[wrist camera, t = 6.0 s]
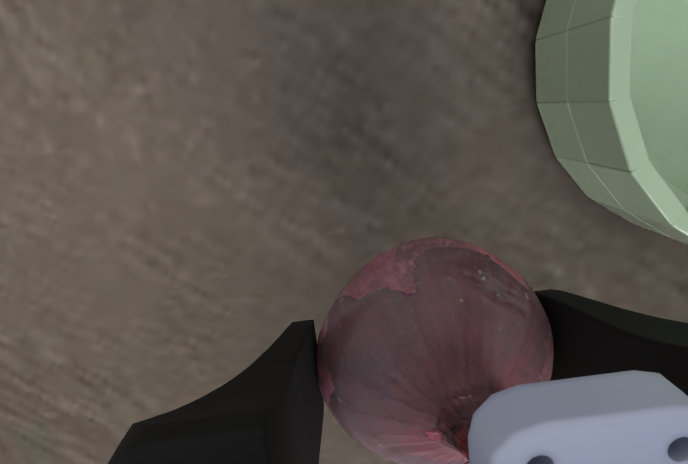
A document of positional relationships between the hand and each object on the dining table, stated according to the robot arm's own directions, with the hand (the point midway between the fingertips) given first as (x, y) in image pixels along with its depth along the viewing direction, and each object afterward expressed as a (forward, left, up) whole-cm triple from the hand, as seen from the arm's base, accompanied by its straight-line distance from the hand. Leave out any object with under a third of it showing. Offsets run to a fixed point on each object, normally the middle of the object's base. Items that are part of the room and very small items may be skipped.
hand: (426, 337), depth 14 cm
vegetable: (0, 0, -3) cm, 3 cm away
